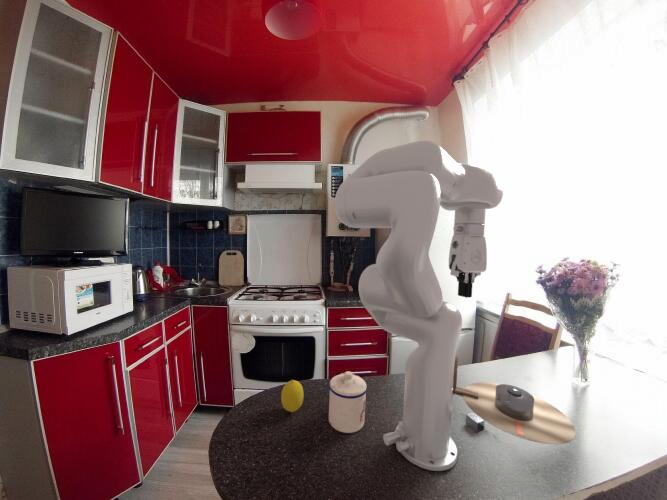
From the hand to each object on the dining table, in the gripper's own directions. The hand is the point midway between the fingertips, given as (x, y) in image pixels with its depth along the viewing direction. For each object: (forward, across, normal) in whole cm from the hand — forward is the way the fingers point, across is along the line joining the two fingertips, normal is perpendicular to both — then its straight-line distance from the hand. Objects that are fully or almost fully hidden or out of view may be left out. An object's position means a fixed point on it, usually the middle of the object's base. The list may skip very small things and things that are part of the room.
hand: (464, 296), depth 71 cm
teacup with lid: (+29, -34, +4) cm, 45 cm away
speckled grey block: (+29, -6, -10) cm, 31 cm away
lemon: (+29, -46, +10) cm, 55 cm away
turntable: (+29, +7, -8) cm, 31 cm away
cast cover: (+28, +7, -11) cm, 30 cm away
